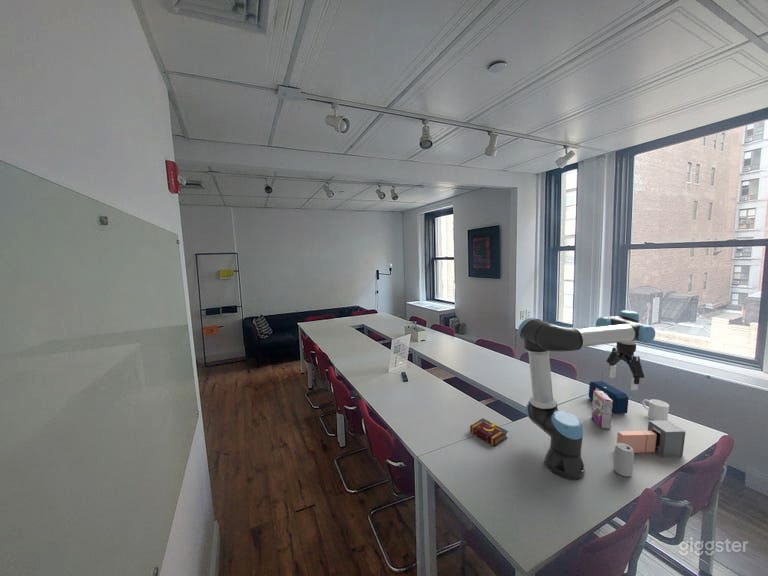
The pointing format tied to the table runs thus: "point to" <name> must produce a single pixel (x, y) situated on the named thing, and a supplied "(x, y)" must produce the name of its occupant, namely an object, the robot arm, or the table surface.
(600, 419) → the candy bar box
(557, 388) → the table surface
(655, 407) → the mug
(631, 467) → the beverage can
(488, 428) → the decorative book
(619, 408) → the radio
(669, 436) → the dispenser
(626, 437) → the tall pink prism
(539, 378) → the robot arm
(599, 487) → the table surface
